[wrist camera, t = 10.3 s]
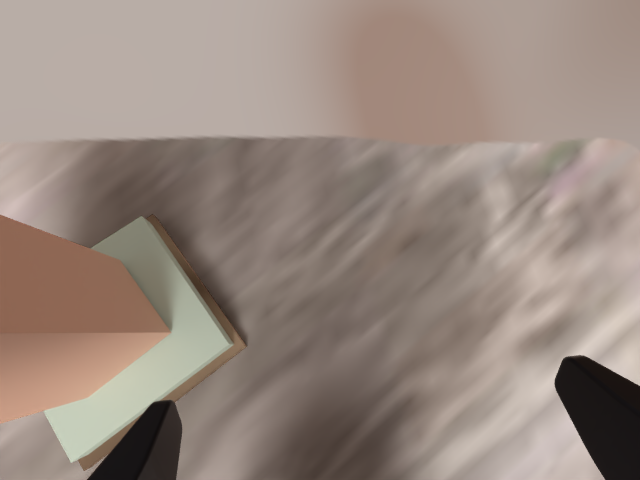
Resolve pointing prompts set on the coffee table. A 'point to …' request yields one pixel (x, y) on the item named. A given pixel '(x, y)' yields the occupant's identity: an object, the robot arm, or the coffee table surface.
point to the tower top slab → (157, 363)
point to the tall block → (65, 320)
